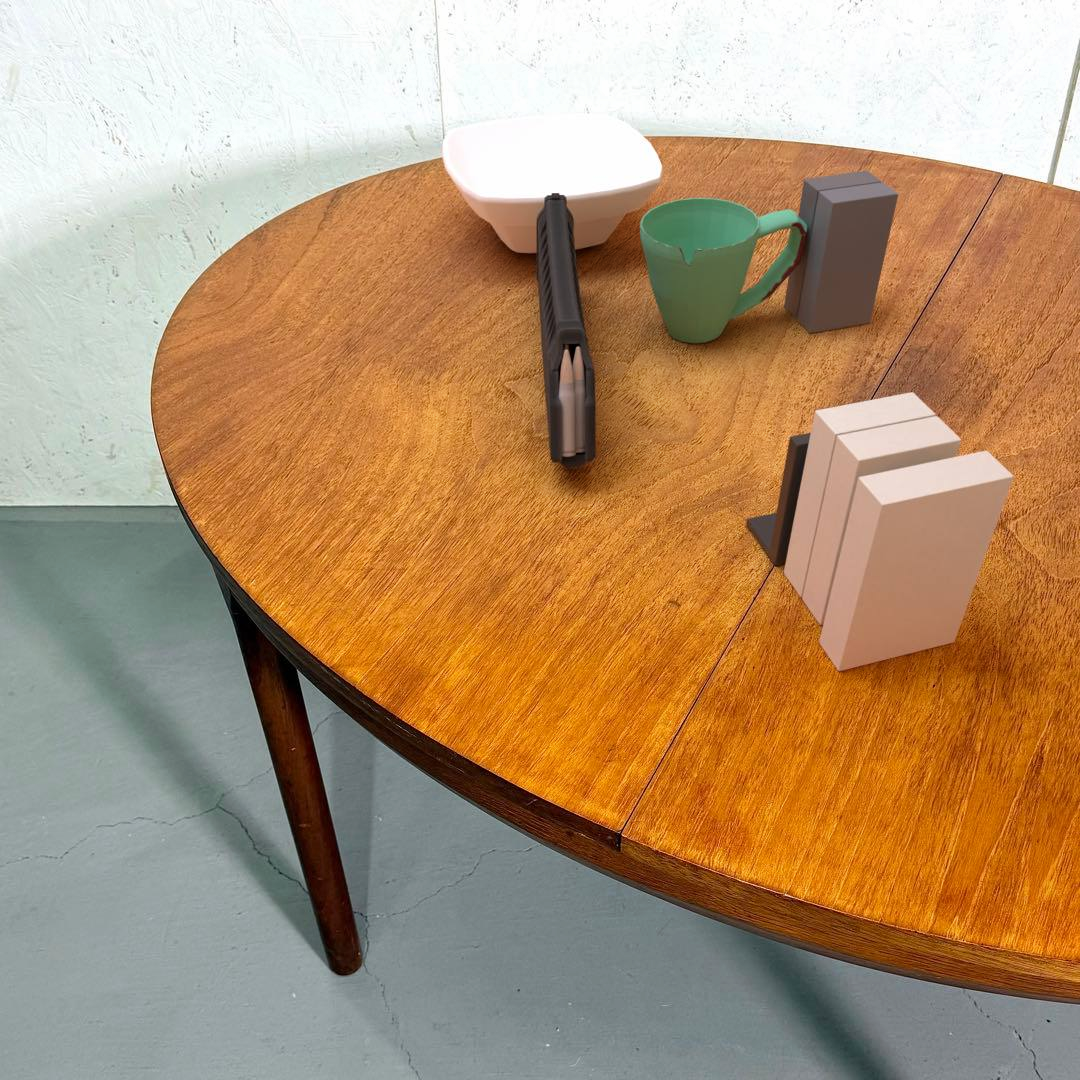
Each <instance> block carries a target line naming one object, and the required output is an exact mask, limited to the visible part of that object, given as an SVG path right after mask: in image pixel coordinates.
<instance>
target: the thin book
mask: <svg viewBox="0 0 1080 1080" xmlns="http://www.w3.org/2000/svg"><path fill="white" fill-rule="evenodd" d="M1014 477H1015V476H1014V475H1013V474H1012V472H1010V471H1009V470H1008V469H1007V468H1006V467H1005V466H1004V465H1003V464H1002V463H1001V462H1000V461H999V460H997V458H996V457H995V456H993V455H992V454H991V452H990V451H988V450H982V451H976V452H971V453H968V454H962V455H959V456H958V455H957V456H956V457H953V458H948V459H943V460H938V461H934V462H929V463H924V464H919V465H915V466H910V467H905V468H900V469H896V470H891V471H886V472H881V473H876V474H872V475H867V476H862V477H859V478H858V481H857V486H856V490H855V494H854V498H853V502H852V507H851V511H850V515H849V519H848V523H847V528H846V532H845V536H844V540H843V544H842V549H841V553H840V557H839V561H838V565H837V569H836V574H835V578H834V582H833V586H832V590H831V595H830V599H829V603H828V607H827V611H826V616H825V620H824V624H823V625H822V628H821V633H820V637H819V640H818V644H819V646H821V648H822V649H823V651H824V653H825V654H826V655H827V657H828V658H829V659H830V661H831V663H832V664H833V665H834V667H835V669H836V670H837V671H838V672H842V671H846V670H850V669H854V668H857V667H862V666H866V665H870V664H873V663H878V662H882V661H885V660H891V659H893V658H897V657H901V656H906V655H910V654H913V653H919V652H921V651H925V650H929V649H933V648H937V647H941V646H945V645H949V644H953V643H955V641H956V638H957V636H958V633H959V630H960V627H961V625H962V622H963V619H964V616H965V614H966V611H967V608H968V605H969V603H970V600H971V597H972V595H973V591H974V589H975V586H976V583H977V580H978V577H979V575H980V572H981V569H982V566H983V564H984V561H985V558H986V555H987V553H988V551H989V548H990V544H991V541H992V539H993V536H994V533H995V530H996V529H997V524H998V522H999V520H1000V516H1001V515H1002V511H1003V508H1004V506H1005V504H1006V503H1005V502H1006V500H1007V497H1008V494H1009V492H1010V488H1011V486H1012V483H1013V481H1014V479H1015V478H1014Z"/></svg>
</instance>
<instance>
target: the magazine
mask: <svg viewBox="0 0 1080 1080" xmlns="http://www.w3.org/2000/svg"><path fill="white" fill-rule="evenodd" d="M573 231H574V218H573V215H572V213H571V212H570V210H569V209H568V207H567V198H566V197H565V196H564V195H559V193H552V194H551V195H547V196H546V197H545V198H544V207H543V209H542V210H541V211H540V213H539V214H538V216H537V253H536V280H537V287H538V288H537V289H538V306H539V324H540V337H541V338H540V340H541V354H542V355H541V356H542V368H543V369H542V370H543V385H544V397H545V409H546V420H547V430H548V446H549V447H548V449H549V457H550V460H551V461H552V463H553V464H555V463H559V464H560V465H562V466H563V467H564V468H566V469H569V468H570V469H572V468H575V469H576V468H581V467H583V465H585V464H586V463H592V462H593V461H594V460H595V458H596V437H597V435H596V434H597V433H596V432H597V431H596V428H597V427H596V425H597V423H596V421H597V419H596V417H597V416H596V412H597V411H596V409H597V405H596V372H595V367H594V363H593V358H592V356H591V353H590V346H589V342H588V336H587V330H586V326H585V325H586V324H585V318H584V310H583V305H582V298H581V290H580V289H581V287H580V282H579V278H580V277H579V273H578V263H577V253H576V250H575V243H574V241H575V239H574V232H573Z"/></svg>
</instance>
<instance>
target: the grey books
mask: <svg viewBox="0 0 1080 1080" xmlns="http://www.w3.org/2000/svg"><path fill="white" fill-rule="evenodd" d="M898 198H899V193H898V192H897V191H896V190H895V189H893V188H891V187H890V186H889V185H887V184H886V183H885V182H883V181H882V180H881V179H880V178H878V177H877V176H876V175H874V174H873V173H871V172H870V171H869V170H861V171H854V172H852V171H851V172H846V173H839V174H838V173H837V174H831V175H825V176H824V175H823V176H815V177H810V178H804V179H803V183H802V190H801V196H800V202H799V209H798V214H797V215H798V216H799V217H800V218H801V219H802V220H803V221H804V222H805V223H806V224H807V233H806V238H805V242H804V247H803V252H802V257H801V262H800V263H799V264H798V266H797V267H796V268H795V269H794V270H793V271H792V272H791V274H790V275H789V276H788V277H787V284H786V291H785V297H784V305H783V307H784V309H785V310H787V311H788V313H790V314H791V316H792V317H793V318H794V319H796V321H797V322H798V323H799V324H800V325H801V326H802V327H803V329H805V330H806V331H807V332H808V334H813V333H814V334H815V333H820V332H825V331H832V330H838V329H844V328H849V327H854V326H855V327H856V326H861V325H867V324H871V321H872V316H873V312H874V307H875V302H876V297H877V294H878V289H879V285H880V279H881V275H882V271H883V266H884V261H885V257H886V254H887V253H886V252H887V248H888V243H889V240H890V234H891V229H892V225H893V221H894V215H895V212H896V207H897V204H898Z"/></svg>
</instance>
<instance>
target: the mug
mask: <svg viewBox="0 0 1080 1080" xmlns="http://www.w3.org/2000/svg"><path fill="white" fill-rule="evenodd" d="M782 230H783V231H784V230H790V232H789V235H788V239H787V243H786V246H785V247H784V249H782V251H781V253H780V254H779V255H778V257H777V258H776V259H775V261H773V263H772V264H771V266H770V267H769V268H768V269H767V271H766V272H765V273H764V275H763V276H762V277H761V278H760V279H759V281H758V282H757V283H756V284H754V285H753V286H751V287H749V288H748V289H746V290H744V291H743V289H744V286H745V282H746V280H747V275H748V271H749V268H750V265H751V262H752V259H753V256H754V253H755V250H756V247H757V244H758V240H759V239H760V240H761V239H762V238H765V237H766V236H769V235H772V234H774V233H776V232H779V231H782ZM806 233H807V224H806V223H805V222H804V221H803V220H802V219H801V218H800V217H799V216H798V214H797V213H796V212H795V211H794V210H792V209H791V208H788V209H782V210H779V211H778V210H777V211H771V212H768V213H765V214H763V215H761V216H757V214H756V213H755V212H754V211H753V210H751V209H750V208H748V207H747V206H745V205H743V204H740V203H737V202H735V201H731V200H726V199H721V198H715V197H714V198H713V197H690V198H689V197H688V198H681V199H680V198H679V199H675V200H671V201H667V202H664V203H661V204H659V205H657V206H655V207H653V208H650V209H649V210H648V211H647V212H646V213H645V214H644V215H643V216H642V217H641V220H640V223H639V239H640V243H641V247H642V250H643V255H644V258H645V262H646V267H647V273H648V278H649V279H648V280H649V284H650V286H651V289H652V293H653V296H654V299H655V302H656V305H657V308H658V311H659V313H660V316H661V319H662V320H663V322H664V325H665V327H666V330H667V332H668V335H670V337H672V338H673V339H675V340H677V341H679V342H682V343H688V344H701V343H709V342H711V341H714V340H715V339H718V338H719V337H720V336H721V334H722V333H723V331H724V329H725V327H726V326H727V324H728V323H730V322H732V321H733V320H734V319H736V318H738V317H739V316H741V315H744V314H745V313H747V312H748V311H750V310H751V309H753V308H755V307H757V306H758V305H760V304H761V303H764V302H765V301H766V300H767V301H768V299H769V298H770V297H772V295H773V294H774V293H775V292H776V290H778V288H779V287H780V286H781V285H782V284H783V283H784V282H785V281H786V279H788V278H789V275H790V274H791V272H792V271H793V270H794V269H795V268H796V267H797V266H798V264H799V263H800V262H801V257H802V252H803V247H804V242H805V238H806ZM742 291H743V292H742Z"/></svg>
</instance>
